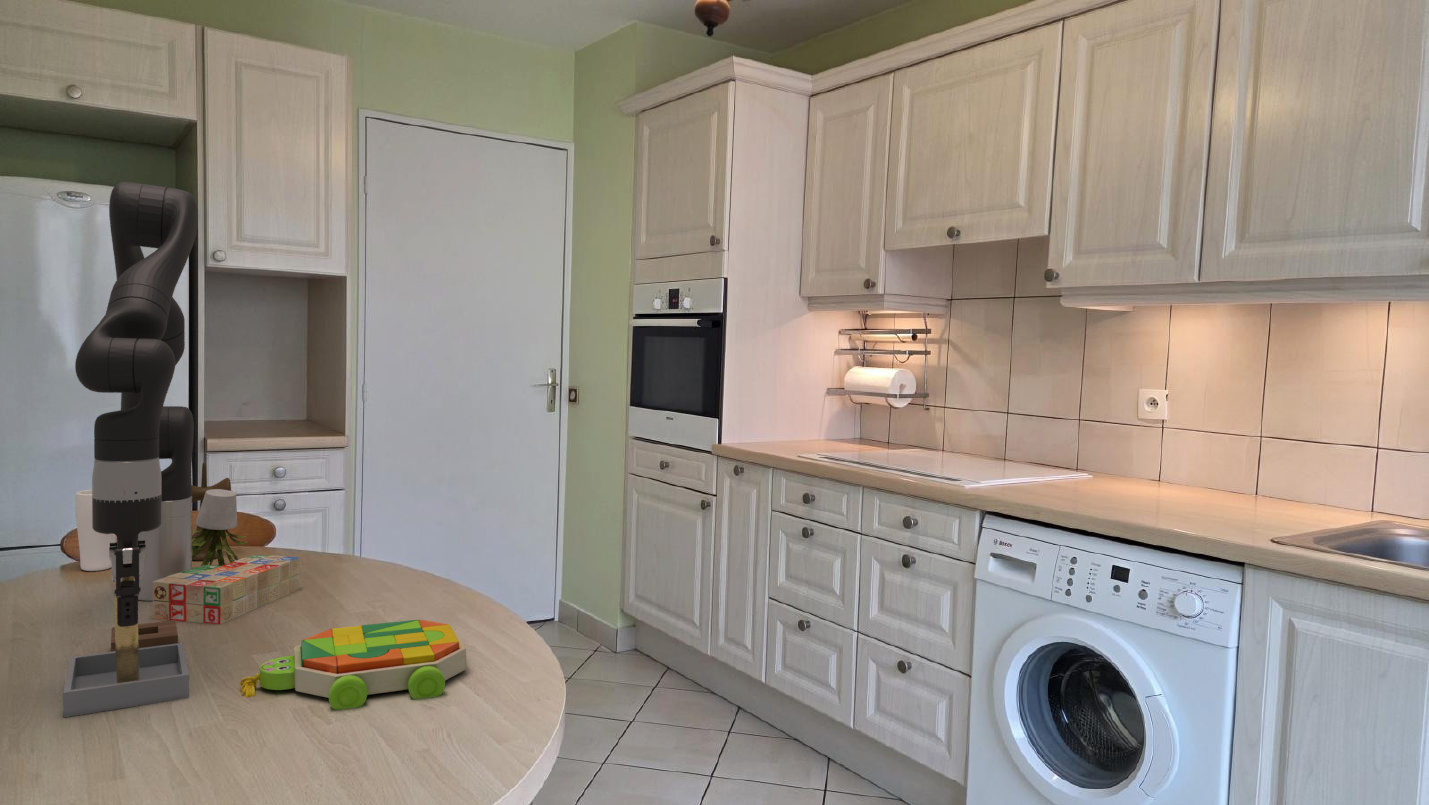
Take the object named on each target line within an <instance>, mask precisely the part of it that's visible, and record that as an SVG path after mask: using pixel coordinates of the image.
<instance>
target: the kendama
mask: <svg viewBox="0 0 1429 805" xmlns="http://www.w3.org/2000/svg"><path fill="white" fill-rule="evenodd" d="M201 466H202V467H201V480H200V482H201V483H200V486H196V485H193V484H192V504H193V503H195V502H198V501H199V511H200V508H201V505H202V502H203V499H204V496H205V493H206V491H207V490H212V489H223V490H229V491H232V484H231V478H229V477H226V478H224V479H222V480H220V481H218V482H217V483H215V484H213V485H209V486H208V484H207V483H208V482H207V480H208V478H207V464H206V462H204V461H203V462H202V465H201ZM202 529H203V528H202V527H199V526H197V525H196V528H195V531H199V530H201V531H199V532H196V533H193V534H192V538H193V537H196V536H199V535H200V534H201V532H202ZM212 537H213V536H212ZM212 537H211V539H210V540H209V541H208V542H207V544H206V545H205V546H204V547H203V548H202V550H201V551H200V552H199V553H198V554H197V555H196V556H195V557H194V558H193V559H192V561H196V562H197V561H199V562H201V561H202V562H203V560H204V557H205V555H206V553H207V550H208V548H209V545H210V543H211V541H212ZM193 541H194V540H192V542H193ZM214 559H218V555H217V551H216V552H215V556H214Z"/></svg>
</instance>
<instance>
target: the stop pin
mask: <svg viewBox="0 0 1429 805" xmlns="http://www.w3.org/2000/svg"><path fill="white" fill-rule="evenodd" d="M113 596H114V598H113V600H114V602H113V603H114V604H113V605H114V627H115V643H116V681H117V683H123V682H130V681H137V680H139V639H138V624H139V622H138V623H137V624H136V625H133V626H125V627H120V626H118V624H117V598H116V595H115V594H114V595H113Z"/></svg>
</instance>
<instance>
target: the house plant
mask: <svg viewBox="0 0 1429 805" xmlns="http://www.w3.org/2000/svg"><path fill="white" fill-rule="evenodd" d="M237 504H238V502H237V493H236V492H235V491H232V490H231V491H229V490H223V489H212V490H207V491H206V493H205V496H204V499H203V502H202V505H201V508H200V507H199V510H200V511H199V512H198V514H197V517H196V520H195V525H196V527H197V526H199V527H202V528H203V529H202V532H201V534H200V535H199V536H196V537H193V538H192V559H193V558H194V557H195V556H196V555H197V554H198V553H199V552H200V551H201V550H202V548H203V547H204V546H205V545H206V544H207V542H208V541H209V540H210V539H211V537H212V536H213V537H212V541H211V543H210V545H209V548H208V550H207V553H206V555H205V557H204V560H203V561H202V563H201V564H200V566H204V565H213V562H214V560H215V558H214V556H215V552H217V555H218V557H217V564H218V566H223V565H226V561H225V558H224V555H223V550H224V551H225V552H226V556H227V559H228V561H229V563H232V562H234V561H237V560H240V558H239V557H238V556H237V555H236V554H235V553H234V551H233V550H232V549H231V547H230V545H229V544H228V543H229V542H228V539H227V537H229V539H230V540H231V541H232V542H234V543H236V544H237V545H241V546H242V545H245V544H247V543H248V542H249V541H239V540H237V539H244V538H246V537H247V536H248V534H247V536H246V535H245V536H244V535H238V534H233V533H231V532H230V531H229V530H231V529H234V528H235V529H236V528H237V527H238V513H237V512H238V511H237V510H238V507H237ZM199 531H201V530H199ZM199 531H196V529H195V530H194V529H192V533H193V534H195V533H196V532H199ZM193 540H194V541H193Z"/></svg>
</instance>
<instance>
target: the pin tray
mask: <svg viewBox="0 0 1429 805" xmlns="http://www.w3.org/2000/svg"><path fill="white" fill-rule="evenodd" d="M185 650H186V649H185V645H184V642H178V643H177V644H169V645H161V646H153V647H145V648H139V680H137V681H130V682H123V683H117V681H116V651H114V652H111V651H108V652H99V653H91V654H84V655H75V656H70V657H69V658H68V664H67V670H66V675H65V681H64V687H63V694H62V695H63V696H62V699H63V700H62V702H63V703H62V708H63V710H62V713H63V714H62V715H63V718H67V717H74V716H75V717H76V716H81V715H88V714H94V713H101V712H107V711H113V710H120V709H127V708H132V707H133V708H134V707H140V706H146V705H152V704H159V703H164V702H170V701H176V700H177V701H178V700H181V699H188V698H189V697H190V673H189V667H188V663H187V662H188V661H187V656H186V651H185Z"/></svg>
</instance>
